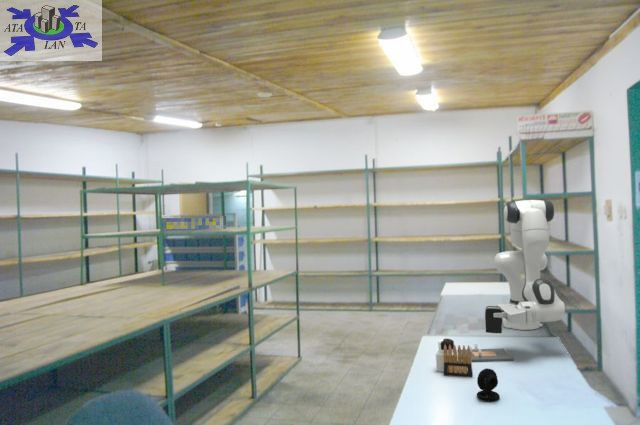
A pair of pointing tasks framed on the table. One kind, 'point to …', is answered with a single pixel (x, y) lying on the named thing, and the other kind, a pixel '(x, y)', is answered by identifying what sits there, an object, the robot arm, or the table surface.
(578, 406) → the table surface
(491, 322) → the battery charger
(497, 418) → the table surface
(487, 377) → the webcam
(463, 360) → the ammunition clip
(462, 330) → the table surface
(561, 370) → the table surface
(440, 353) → the medicine bottle
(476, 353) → the dock
